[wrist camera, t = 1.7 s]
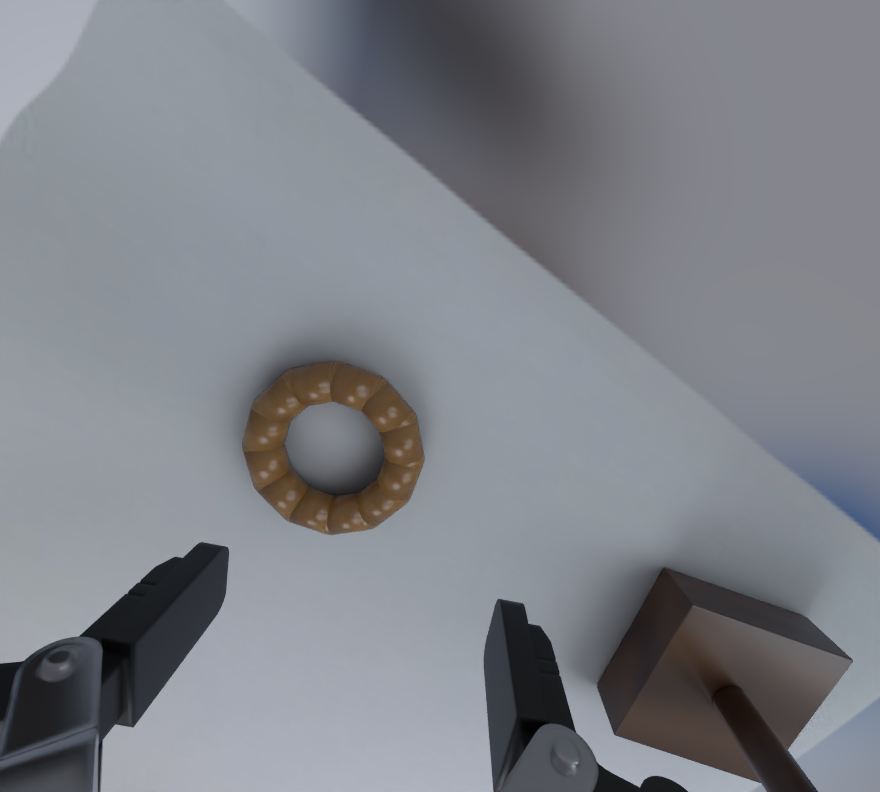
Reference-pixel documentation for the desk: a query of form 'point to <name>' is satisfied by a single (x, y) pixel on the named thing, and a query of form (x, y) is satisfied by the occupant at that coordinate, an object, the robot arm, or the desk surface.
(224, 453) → the desk surface
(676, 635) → the peg stand
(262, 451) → the segmented donut ring
